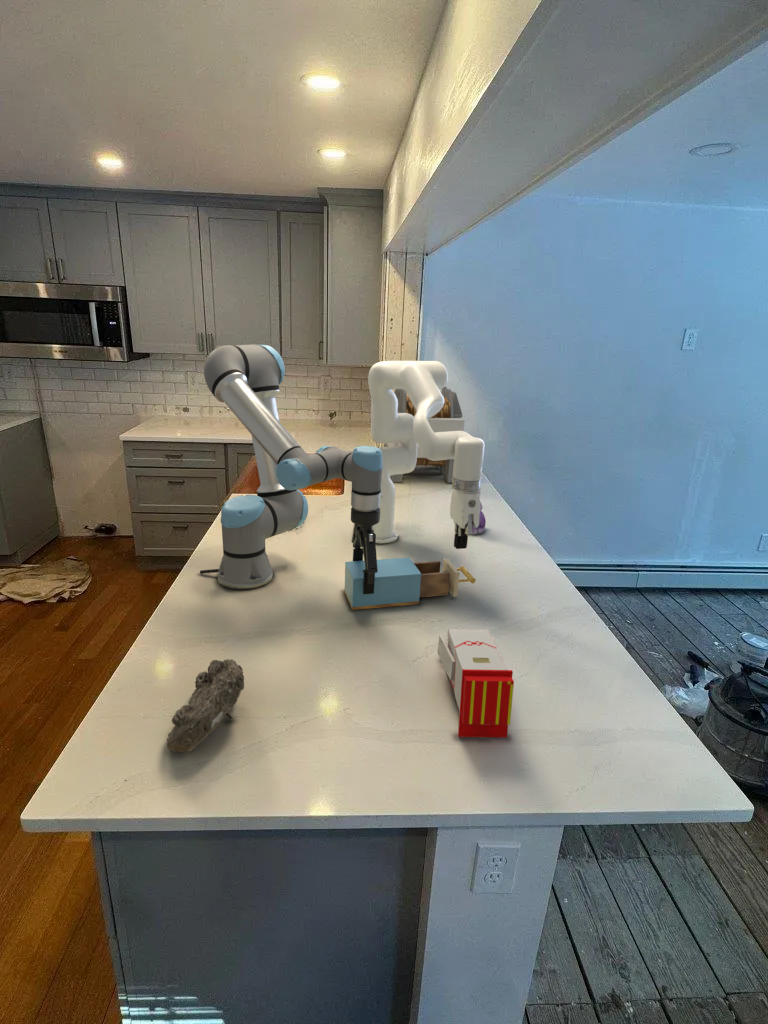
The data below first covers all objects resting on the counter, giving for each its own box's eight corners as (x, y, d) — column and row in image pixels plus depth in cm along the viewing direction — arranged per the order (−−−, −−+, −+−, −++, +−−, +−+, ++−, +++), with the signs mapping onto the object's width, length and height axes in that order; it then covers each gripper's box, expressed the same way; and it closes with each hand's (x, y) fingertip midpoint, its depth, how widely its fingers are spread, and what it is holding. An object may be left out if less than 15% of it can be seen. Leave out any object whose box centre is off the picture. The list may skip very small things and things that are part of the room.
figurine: (471, 536, 200) (475, 496, 195) (454, 527, 208) (458, 488, 203) (492, 533, 204) (497, 493, 199) (475, 523, 212) (479, 485, 207)
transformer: (382, 463, 289) (386, 382, 275) (445, 464, 293) (451, 384, 279) (390, 482, 257) (394, 392, 243) (460, 483, 261) (468, 394, 247)
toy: (488, 613, 130) (523, 677, 101) (484, 667, 133) (517, 744, 104) (435, 612, 130) (455, 676, 101) (432, 666, 133) (451, 743, 103)
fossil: (192, 660, 117) (244, 628, 112) (224, 691, 120) (276, 661, 115) (142, 746, 98) (202, 712, 93) (182, 779, 101) (242, 748, 96)
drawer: (462, 579, 166) (465, 557, 164) (475, 594, 158) (478, 571, 155) (387, 585, 160) (389, 562, 158) (397, 601, 152) (398, 577, 149)
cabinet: (407, 585, 163) (409, 557, 160) (419, 603, 153) (421, 573, 150) (344, 591, 158) (345, 561, 155) (352, 610, 148) (353, 579, 145)
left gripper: (392, 524, 135) (388, 602, 142) (368, 491, 157) (366, 560, 165) (361, 525, 133) (358, 605, 140) (342, 492, 156) (340, 562, 163)
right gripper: (491, 492, 144) (483, 557, 151) (468, 475, 158) (462, 536, 164) (463, 493, 142) (457, 559, 149) (443, 476, 156) (438, 538, 162)
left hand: (362, 581), depth 152 cm, fingers open, 13 cm apart
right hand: (460, 547), depth 156 cm, fingers closed
